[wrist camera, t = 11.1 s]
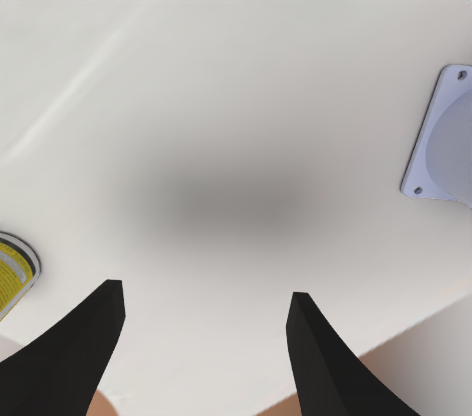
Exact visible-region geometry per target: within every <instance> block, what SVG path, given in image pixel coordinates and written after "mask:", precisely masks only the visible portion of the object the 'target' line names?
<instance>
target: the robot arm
mask: <svg viewBox="0 0 472 416" xmlns="http://www.w3.org/2000/svg"><path fill="white" fill-rule="evenodd" d="M460 71H462V72H463V74H462V77H461V78H460V79H459V80H458V78H457V76H458V74H459V72H460ZM418 187H419V190H418V191H417V192H414V190H415V189H416V188H418ZM401 193H402V194H404V195H405V196H407V197H416V198H429V199H441V200H454V201H460V202H462V203H463V204H465V205H466V206H468V207H469V208H471V209H472V66H465V65H449V66H447V67H445V68H444V69H443V71H442V73H441V75H440V78H439V81H438V84H437V86H436V89H435V92H434V95H433V98H432V101H431V104H430V106H429V109H428V112H427V115H426V118H425V121H424V123H423V126H422V129H421V132H420V135H419V138H418V141H417V143H416V146H415V149H414V152H413V155H412V158H411V161H410V163H409V166H408V169H407V172H406V175H405V178H404V180H403V183H402V186H401ZM125 317H126V316H125V306H124V297H123V287H122V280H108V279H107V280H106V281H104V282H103V283H102V284H101V285H100V286H99V287H98V288H97V289H96V290H94V291H93V292H92V293H91V294H90V295H89V296H88V297H87V298H86V299H84V300H83V301H82V302H81V303H80V304H79V305H78V306H76V307H75V308H74V309H73V310H72V311H71V312H70V313H68V314H67V315H66V316H65V317H64V318H62V319H61V320H60V321H59V322H57V323H56V324H55V325H54V326H52V327H51V328H50V329H49V330H47V331H46V332H45V333H43V334H42V335H41V336H39V337H38V338H37V339H35V340H34V341H32V342H31V343H30V344H28V345H27V346H25V347H24V348H22V349H21V350H19V351H18V352H16V353H15V354H13V355H12V356H10V357H8V358H7V359H5V360H3V361H2V362H0V416H86V414H87V410H88V408H89V405H90V403H91V400H92V398H93V395H94V393H95V391H96V389H97V386H98V384H99V382H100V380H101V378H102V375H103V373H104V371H105V369H106V367H107V364H108V362H109V360H110V358H111V355H112V353H113V351H114V349H115V347H116V344H117V342H118V339H119V336H120V333H121V330H122V327H123V324H124V320H125ZM286 335H287V344H288V352H289V357H290V362H291V366H292V371H293V375H294V380H295V384H296V389H297V393H298V398H299V402H300V407H301V413H302V416H420V415H419V414H418V413H416V412H415V411H414V410H413V409H411V408H410V407H409V406H408V405H407V404H405V403H404V402H403V401H402V400H401V399H399V398H398V397H397V396H396V395H395V394H394V393H393V392H392V391H390V390H389V389H388V388H387V387H386V386H385V385H384V384H383V383H382V382H381V381H379V380H378V379H377V378H376V377H375V376H374V375H373V374H372V373H371V372H370V371H369V370H368V369H367V368H366V367H365V365H363V364H362V362H361V361H360V360H359V359H358V358H357V357H356V356H355V355H354V354H353V352H352V351H351V350H350V349H349V348H348V346H347V345H346V344H345V343H344V342H343V340H342V339H341V338H340V337H339V335H338V334H337V333H336V331H335V330H334V329H333V328H332V326H331V325H330V324H329V322H328V321H327V320H326V318H325V317H324V315H323V314H322V313H321V311H320V310H319V308H318V307H317V305H316V304H315V302H314V301H313V299H312V298H311V297H310V295H309V294H308V293H304V292H293V296H292V300H291V305H290V309H289V314H288V319H287V323H286Z"/></svg>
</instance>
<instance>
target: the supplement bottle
mask: <svg viewBox="0 0 472 416" xmlns="http://www.w3.org/2000/svg"><path fill="white" fill-rule="evenodd" d="M39 272H40V267H39V263H38V260H37V258H36V256H35V254H34V253H33V251H32V250H31V249H30V248H29V247H28V246H27V245H25V244H24V243H23V242H21V241H20V240H18V239H16V238H14V237H12V236H9V235H6V234H2V233H0V321H1V320H2V319H3V318H4V317H5V316H6V315H7V314H8V313H9V311H10V310H11V309H12V308H13V307H14V306H15V305H16V304H17V303H18V301H19V300H20V299H21V298H22V297H23V296H24V295H25V294H26V293H27V291H28V290H29V289H30V288H31V287H32V286H33V284H34V283H35V282H36V280H37V279H38V276H39Z"/></svg>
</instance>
